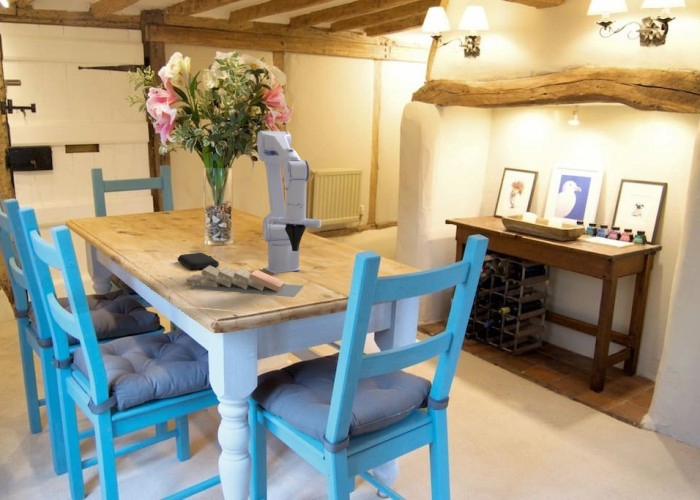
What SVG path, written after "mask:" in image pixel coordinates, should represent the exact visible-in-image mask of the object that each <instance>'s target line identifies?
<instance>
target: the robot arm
mask: <svg viewBox="0 0 700 500" xmlns="http://www.w3.org/2000/svg"><path fill="white" fill-rule="evenodd" d="M256 146H257V153H258V154H257V155H258V158H259V160H260V161H261V162H264V167H265V173H266V182H267V191H268V193H267V194H268V199H269V200H268V202H269V210H270V211H269V213H267V215H266V216H265V217H264V218H263V220H262V237H263V240H264V242H265V243H268V244H267V264H268V265H265V266H262V267H263V268H262V269H264V270H266V271H268V272H270V273H272V274H275V275H276V274H281V273H289V272H297V271H301V268H300V249H299V248H300V244H301V241H302V237H303V235H304V233H305V231H306V230H307V227H311V228H318V229H320V228H321V227H322V219H314V218H307V217H306V216H307V182H308V181H309V180H310V165H309V162H308V160H306V159H305V160H303V159H302V158H300V156H299V154H298V153H297V151H296V150H295V149H294V148H293V147H292V135H291V133H290V132H289V131H287V130H286V131H280V130H279V131H273V130H272V131H269V130H268V131H267V130H259V131H258V133H257V137H256ZM281 168H282V169H281ZM282 175H283V176H282ZM283 180H284V183H283ZM283 184H284V185H283ZM284 188H285V195H284Z"/></svg>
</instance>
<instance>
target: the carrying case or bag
mask: <svg viewBox="0 0 700 500" xmlns="http://www.w3.org/2000/svg"><path fill="white" fill-rule="evenodd" d="M177 261H178V262H179V264H180V265H182V266H184V267H186V268H188V269H189V270H191V271H202V270H203V269H204V268H206V267H208V266H209V265H210V266H213V267H215V268H218V267H219V265H220V263H219V261H218V260H216V259H215V258H213V256H211V255H208V254H205V253H203V252H194V253H185V254H181V255H179V256H178V257H177Z"/></svg>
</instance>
